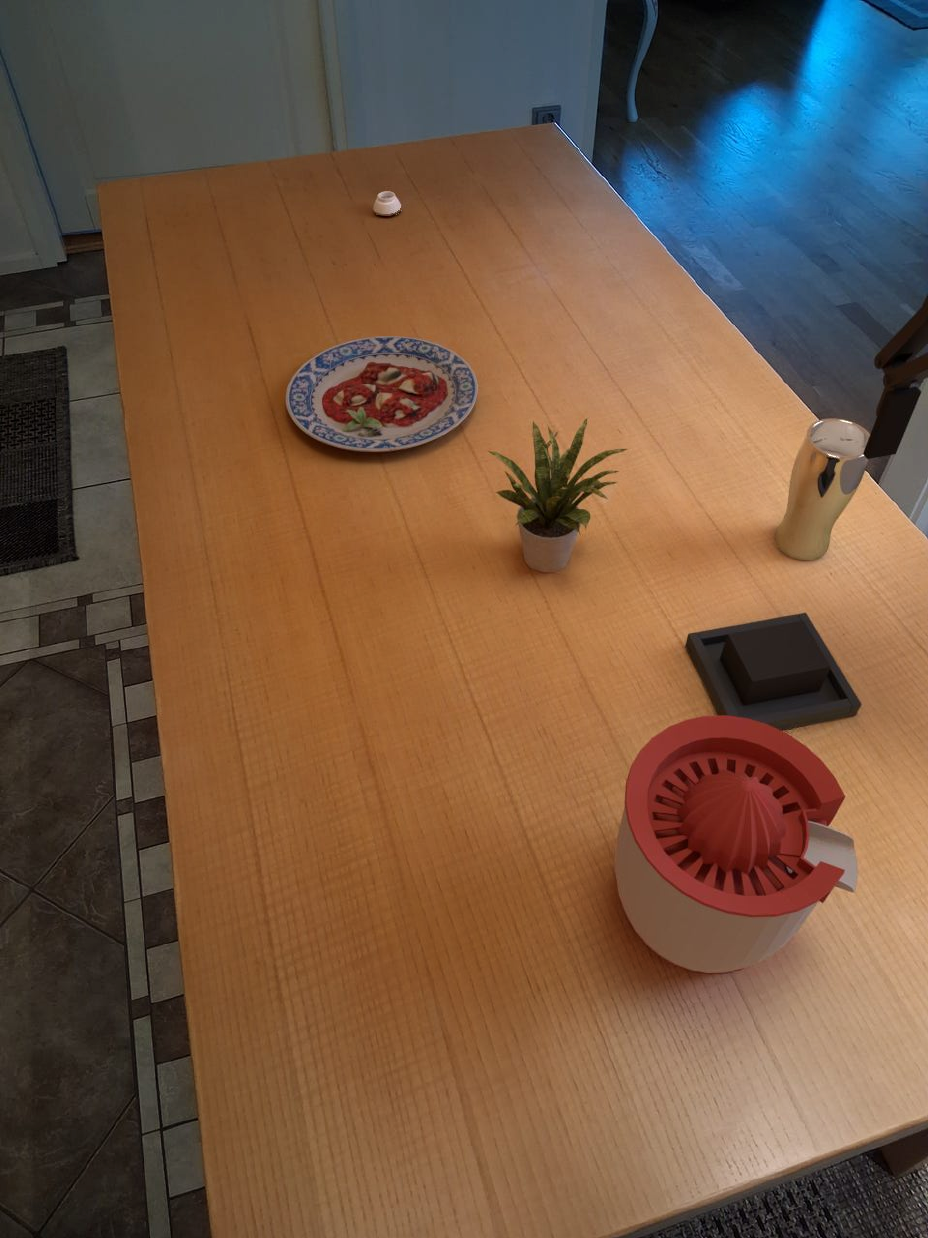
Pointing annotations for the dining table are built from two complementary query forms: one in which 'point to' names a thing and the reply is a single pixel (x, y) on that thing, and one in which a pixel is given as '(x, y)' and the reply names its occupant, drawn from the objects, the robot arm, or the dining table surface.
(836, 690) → the black square tray
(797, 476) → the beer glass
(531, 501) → the house plant
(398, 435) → the ceramic plate
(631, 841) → the citrus juicer
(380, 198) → the lidless jar
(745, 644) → the black block
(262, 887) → the dining table surface
